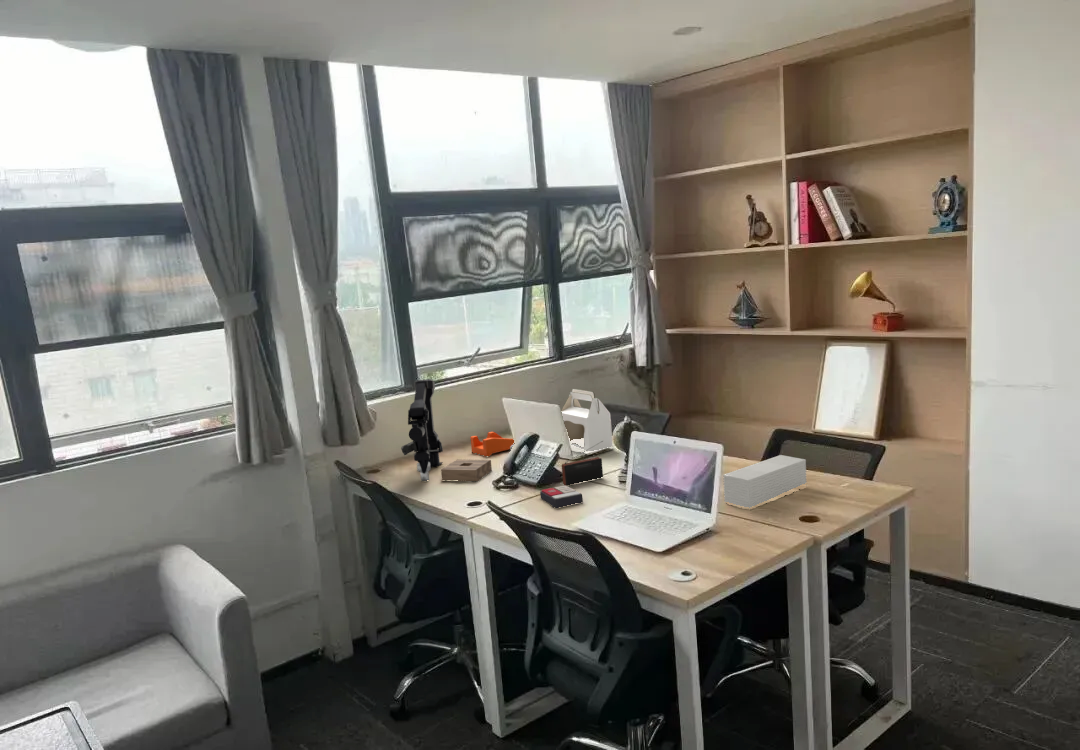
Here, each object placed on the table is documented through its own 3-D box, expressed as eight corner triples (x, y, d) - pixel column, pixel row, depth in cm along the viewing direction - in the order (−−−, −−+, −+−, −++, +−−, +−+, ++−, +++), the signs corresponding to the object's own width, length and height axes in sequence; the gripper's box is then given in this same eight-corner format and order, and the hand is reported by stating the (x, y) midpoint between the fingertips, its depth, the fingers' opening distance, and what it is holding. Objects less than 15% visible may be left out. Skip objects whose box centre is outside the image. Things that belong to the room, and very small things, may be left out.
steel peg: (422, 478, 332) (420, 461, 331) (434, 478, 330) (432, 461, 329) (416, 482, 327) (414, 464, 326) (427, 482, 325) (426, 465, 324)
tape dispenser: (486, 457, 360) (485, 440, 359) (472, 453, 370) (470, 436, 369) (517, 449, 371) (516, 432, 370) (502, 445, 381) (501, 429, 380)
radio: (566, 486, 303) (563, 449, 301) (563, 485, 306) (560, 448, 304) (608, 478, 310) (605, 441, 308) (604, 476, 313) (601, 440, 311)
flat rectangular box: (566, 484, 295) (582, 492, 281) (567, 495, 296) (583, 503, 282) (539, 489, 291) (554, 497, 277) (540, 500, 292) (555, 509, 278)
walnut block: (458, 470, 341) (457, 459, 340) (491, 470, 335) (490, 459, 334) (442, 480, 326) (440, 469, 325) (476, 481, 320) (475, 470, 320)
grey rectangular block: (781, 483, 286) (780, 454, 285) (806, 488, 278) (805, 459, 276) (724, 504, 268) (723, 474, 266) (749, 511, 259) (748, 480, 258)
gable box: (561, 448, 365) (557, 390, 360) (584, 443, 372) (579, 385, 368) (590, 456, 346) (586, 394, 342) (613, 450, 353) (609, 390, 349)
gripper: (402, 432, 334) (406, 467, 336) (400, 442, 316) (404, 479, 318) (428, 430, 335) (431, 465, 338) (427, 439, 317) (431, 476, 319)
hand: (424, 471), depth 328 cm, fingers open, 6 cm apart
